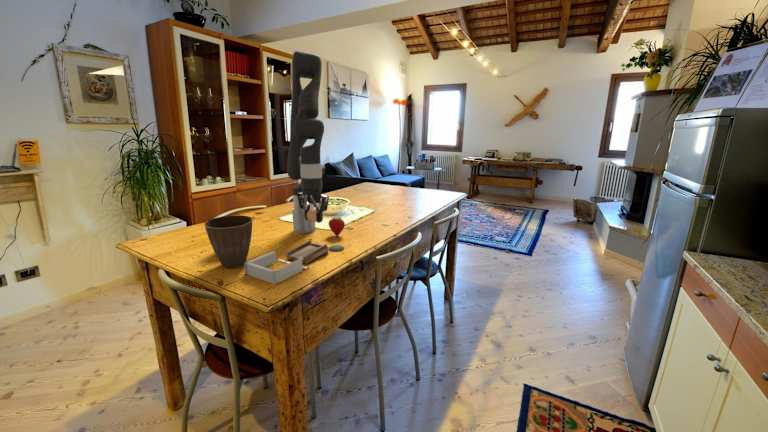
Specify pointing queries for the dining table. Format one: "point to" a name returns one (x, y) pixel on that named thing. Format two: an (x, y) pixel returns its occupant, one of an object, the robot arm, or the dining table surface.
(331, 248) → the coaster
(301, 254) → the walnut ramp
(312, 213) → the rubber ball
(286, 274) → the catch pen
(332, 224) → the strawberry
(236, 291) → the dining table surface
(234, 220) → the plant pot
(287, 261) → the painted line
